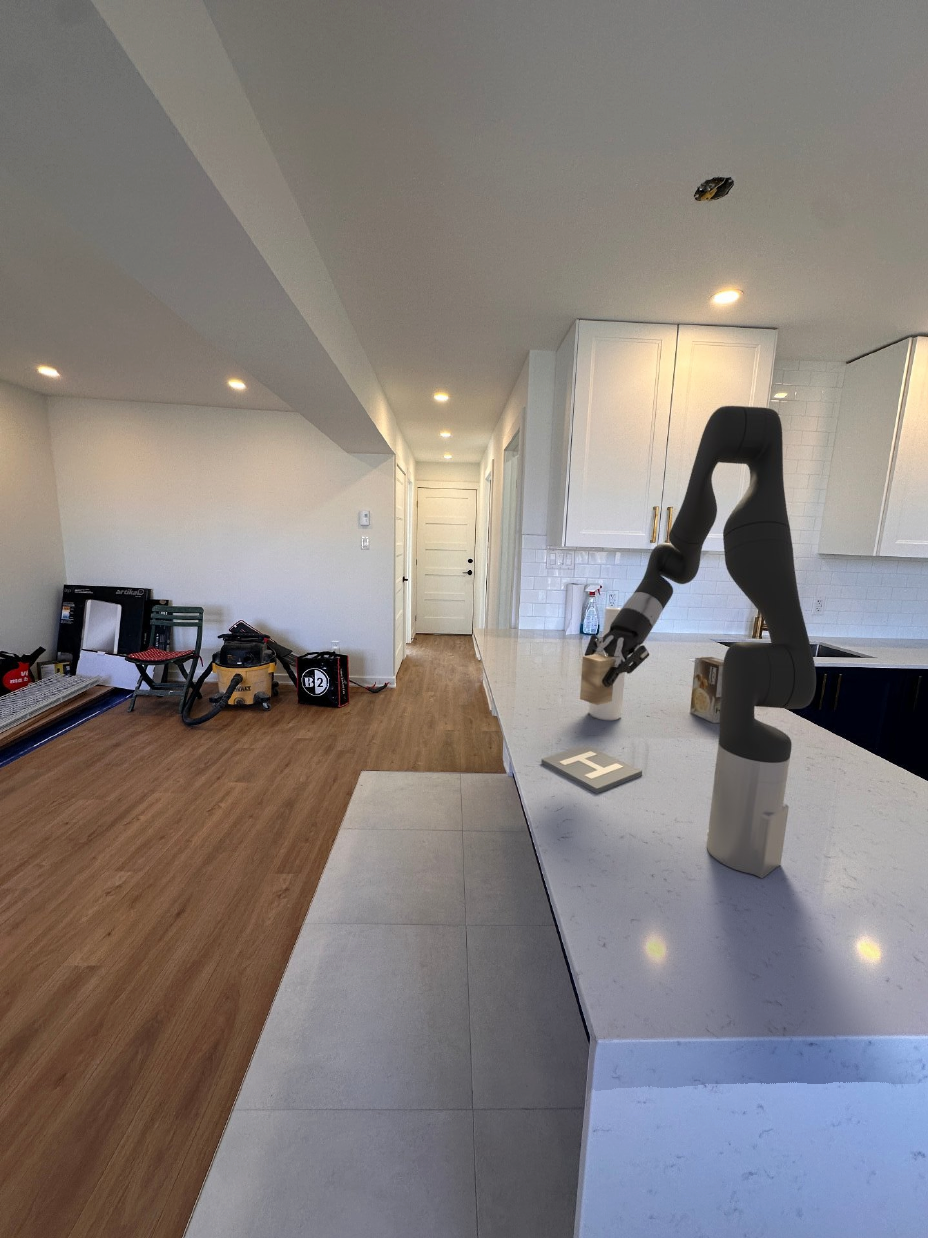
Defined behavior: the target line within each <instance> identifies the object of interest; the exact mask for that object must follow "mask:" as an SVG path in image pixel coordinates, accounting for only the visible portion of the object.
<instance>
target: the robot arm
mask: <svg viewBox="0 0 928 1238" xmlns="http://www.w3.org/2000/svg"><path fill="white" fill-rule="evenodd" d="M783 443H784V442H783V425H782V420H781V417H780V415H779V413H778V412H777V411H776V410H774V408H773V409H772V408H769V407H765V406H746V405H721V406H719V407H718V408H716V409H715V410H714V411H713V413H712V414H711V415H710V416H709V419H708V420H707V422H706V424H705V426H704V430H703V432H702V435H701V438H700V441H699V444H698V448H697V452H696V454H695V459H694V462H693V465H692V469H691V473H690V477H689V479H688V484H687V488H686V492H685V493H684V494H685V495H684V498H683V501H682V504H681V507H680V509H679V510H678V513H677V515H676V517H675V519H674V522H673V524H672V526H671V528H670V530H669V533H668V534H669V535H668V541H669V543H668V542H662V543H659V544H657V545H655V546H654V548H653V549H652V550H651V553H650V555H649V558H648V561H647V566H646V570H645V572H644V575H643V577H642V580H641V581H640V583H639V585H638V586H637V588H636V589H635V590H634V592H633V593H632V594H631V596H630V597H629V598H628V599H627V600H626V602H625V603H624V604H623V606H622V607H621V608H620V609H621V610H620V612H619V613H618V615H617V616H616V617H615V619H614V620H613V622H612V623H611V626H610V630H609V632H608V633H607V634H605V635H604V636H603V637H602V636H597V634H592V635H590V639H589V641H588V644H587V647H586V649H585V652H584V656H588V655H594V654H600V655H603V656H607V657H615V661H614V663H613V667H610V669H609V670H608V672H607V673H606V675H605V676H604V678H603V680H602V683H603V684H604V686H605V687H610V685H612V684H614V682H615V680H616V679H617V677H618V676H619V674H622V673H623V672H625V673H626V674H629V675H630V674H632V673H633V672H634V671H635V670H636V669H637V668H638V667H639V666H640V665H641V664H642V663H643V662H644V661H645V660H646V659H648V657H649V656H650V653H649V650H648V649H647V647H646V646H645V645H644V642H645V640H646V639H647V638H648V636H649V634H650V633H651V632H652V630H653V628H654V627H655V625H656V624H657V622H658V621H659V619H660V617H661V613H662V611H664V609H665V608H666V606H667V605H668V603H669V601H670V600H671V598H672V596H673V594H674V588H673V586H672V583H670V582H669V581H668V580H670V581H671V582H674V583H675V584H679V585H685V584H688V583H690V582H692V581H693V580H694V579H695V578H696V577H697V575H698V573H699V568H700V565H701V556H702V549H703V546H704V543H705V542H706V539H707V537H708V535H709V533H710V532H711V530H712V528H713V526H714V524H715V522H716V520H717V515H718V504H717V499H716V496H715V492H714V487H713V483H712V482H713V480H712V478H713V472H714V471H715V468H716V467H717V465H718V464H719V463H723V464H737V465H739V464H740V465H747V467H748V468H749V469H748V470H749V485H748V487H747V489H746V492H745V493H744V494H743V496H742V497H741V499H740V500H739V502H738V503H737V505H736V506H735V507H734V508H733V510H732V511H731V513H730V515H729V516H728V518H727V519H726V522H725V524H724V527H723V531H722V532H723V533H722V536H723V537H722V539H723V550H724V551H723V552H724V562H725V566H726V570H727V572H728V574H729V576H730V577H731V579H732V580H733V582H734V583H735V585H736V586H737V587H738V588H739V589H740V591H742V592H743V594H744V595H745V596H746V597H747V598H748V599H749V601H750V602H751V603H752V605H754V607H755V608H756V610H758V612H759V614H760V615H761V617H762V619H763V620H764V623H765V626H766V629H767V631H768V635H769V639H770V642H754V641H753V642H752V641H751V642H748V641H739V642H734V643H732V644H731V645H730V646H729V647H728V649H727V650H726V652H725V654H724V659H723V660H724V662H723V669H722V686H721V704H720V715H719V722H718V723H719V724H718V727H719V732H718V733H719V735H718V743H717V753H716V761H715V769H714V777H713V778H714V779H713V786H712V795H711V803H710V811H709V820H708V830H707V835H706V836H707V839H706V849H707V851H708V853H709V854H710V855H711V856H712V857H713V859H715V860H717V861H718V862H719V863H721V864H723V865H724V866H726V867H729V868H730V869H733V870H735V871H736V870H737V871H739V872H743V873H746V874H751V875H754V876H757V877H758V878H760V879H763V878H764V877H766V876H767V875H768V874H770V873H771V872H772V871H774V870H775V869H776V868H777V867H778V866H780V865H781V864H782V857H783V851H784V843H785V837H786V829H787V823H788V822H787V821H788V815H789V808H790V807H789V805H788V804H787V803H785V802H784V801H785V797H786V789H787V788H786V787H787V781H788V773H789V766H790V760H791V759H790V758H791V753H792V747H793V746H792V744H793V743H792V739H791V738H790V736H789V735H787V734H786V733H785V732H784V731H782V730H781V729H779V728H777V727H775V726H773V725H771V724H767V723H765V722H763V721H760V720H758V719H757V718H755V717H756V716H755V707H759V708H761V707H762V708H771V709H772V708H773V709H787V710H797V709H804V708H806V707H807V706H809V705H810V704H811V703H812V701H813V699H814V697H815V694H816V688H817V687H816V686H817V673H816V666H815V659H814V656H813V651H812V646H811V644H810V643H811V642H810V638H809V636H808V631H807V626H806V623H805V618H804V614H803V610H802V607H801V602H800V596H799V590H798V585H797V584H798V583H797V578H796V577H797V576H796V569H795V559H794V547H793V542H792V541H793V540H792V533H791V527H790V526H791V525H790V522H789V516H788V511H787V503H786V502H787V501H786V493H785V487H784V486H785V482H784V451H783V449H784V448H783V445H784V444H783ZM667 579H668V580H667ZM602 643H603V644H602ZM603 651H605V653H606V654H604V652H603Z"/></svg>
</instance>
